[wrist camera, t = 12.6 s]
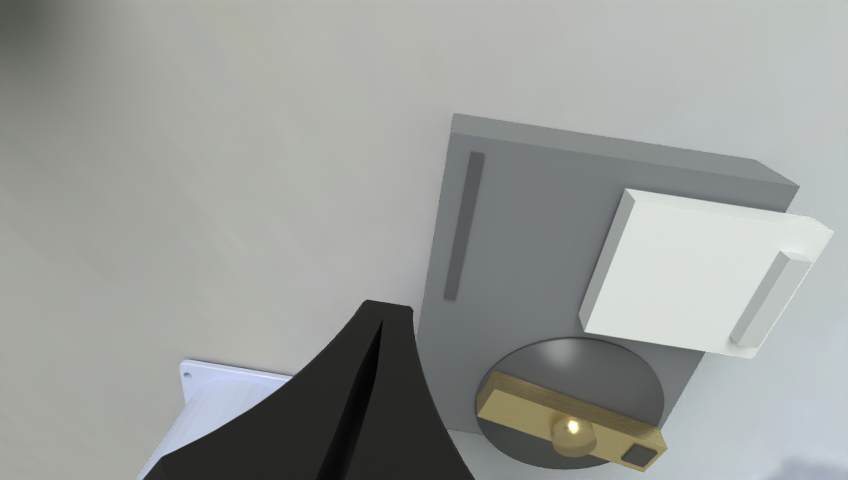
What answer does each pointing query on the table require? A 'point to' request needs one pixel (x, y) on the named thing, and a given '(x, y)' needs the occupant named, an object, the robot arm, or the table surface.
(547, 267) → the grey flat block
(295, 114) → the table surface
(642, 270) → the hatch cover
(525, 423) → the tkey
